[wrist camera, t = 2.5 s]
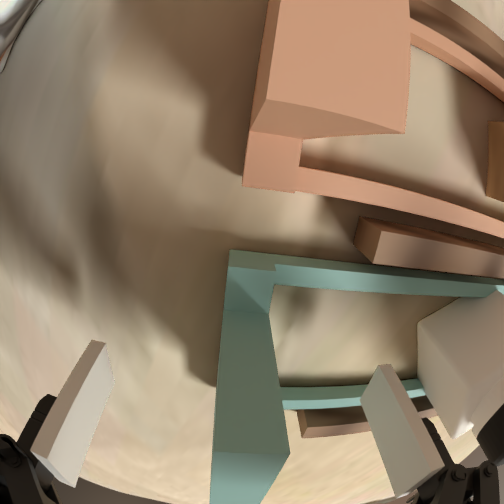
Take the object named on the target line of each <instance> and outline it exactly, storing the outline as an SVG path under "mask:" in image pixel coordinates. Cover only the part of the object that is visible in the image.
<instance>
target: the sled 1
mask: <svg viewBox="0 0 504 504" xmlns="http://www.w3.org/2000/svg"><path fill="white" fill-rule="evenodd" d="M411 44H412V45H414V46H416V47H418V48H420V49H422V50H424V51H426V52H428V53H430V54H432V55H433V56H435V57H437V58H439V59H441V60H442V61H444V62H446V63H448V64H449V65H451V66H453V67H454V68H456V69H458V70H459V71H461V72H462V73H464V74H465V75H467V76H468V77H470V78H471V79H473V80H474V81H476V82H477V83H479V84H480V85H482V86H483V87H484V88H486V89H487V90H488V91H490V92H491V93H492V94H494V95H495V96H496V97H498V98H499V99H500V100H501V101H503V102H504V79H503V78H502V77H501V76H499V75H498V74H497V73H496V72H494V71H493V70H492V69H491V68H489V67H488V66H487V65H486V64H484V63H483V62H482V61H480V60H479V59H478V58H476V57H475V56H473V55H472V54H471V53H469V52H468V51H466V50H465V49H463V48H462V47H460V46H459V45H457V44H456V43H454V42H453V41H451V40H449V39H448V38H446V37H444V36H443V35H441V34H439V33H438V32H436V31H434V30H432V29H431V28H429V27H427V26H425V25H423V24H421V23H419V22H417V21H415V20H413V19H411V18H410V10H409V0H269V1H268V7H267V13H266V19H265V25H264V31H263V38H262V44H261V50H260V57H259V63H258V70H257V76H256V83H255V90H254V96H253V103H252V110H251V117H250V124H249V131H248V139H247V146H246V153H245V161H244V168H243V176H242V186H245V187H253V188H261V189H268V190H276V191H283V192H289V193H295V191H300V192H306V193H312V194H318V195H324V196H330V197H336V198H341V199H347V200H352V201H357V202H362V203H367V204H372V205H377V206H382V207H387V208H391V209H396V210H400V211H405V212H409V213H413V214H417V215H422V216H426V217H430V218H434V219H438V220H442V221H445V222H449V223H453V224H457V225H460V226H464V227H467V228H471V229H474V230H478V231H481V232H485V233H488V234H491V235H494V236H498V237H501V238H504V222H503V221H500V220H498V219H495V218H493V217H490V216H487V215H485V214H482V213H479V212H477V211H474V210H471V209H468V208H465V207H462V206H459V205H456V204H453V203H450V202H447V201H444V200H441V199H437V198H434V197H431V196H427V195H424V194H421V193H417V192H414V191H410V190H406V189H403V188H399V187H395V186H391V185H387V184H383V183H379V182H375V181H371V180H367V179H362V178H358V177H353V176H349V175H344V174H339V173H334V172H329V171H324V170H319V169H313V168H308V167H302V166H299V162H300V155H301V148H302V142H303V139H313V138H323V137H335V136H349V135H368V134H405V126H406V117H407V107H408V95H409V80H410V48H411Z"/></svg>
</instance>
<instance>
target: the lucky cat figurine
mask: <svg viewBox="0 0 504 504" xmlns="http://www.w3.org/2000/svg"><path fill="white" fill-rule="evenodd" d="M41 1H42V0H0V73H1V72H2V70H3V68H4V65H5V63H6V60H7V57H8V55H9V52H10V50H11V47H12V45H13V42H14V41H15V39H16V37H17V35H18V34H19V32H20V30H21V28H22V27H23V25H24V24H25V22H26V20H27V19H28V17H29V16H30V14H31V13H32V11H33V10H34V9H35V8H36V7H37V5H38V4H39V3H40V2H41Z"/></svg>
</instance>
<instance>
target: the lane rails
mask: <svg viewBox="0 0 504 504" xmlns="http://www.w3.org/2000/svg"><path fill="white" fill-rule="evenodd" d="M409 10H410V18H411V19H413V20H415V21H417V22H419V23H421V24H423V25H425V26H427V27H429V28H431V29H432V30H434V31H436V32H438V33H439V34H441V35H443V36H444V37H446V38H448V39H449V40H451V41H453V42H454V43H456V44H457V45H459V46H460V47H462V48H463V49H465V50H466V51H468V52H469V53H471V54H472V55H473V56H475V57H476V58H478V59H479V60H480V61H482V62H483V63H484V64H486V65H487V66H488V67H489V68H491V69H492V70H493V71H494V72H496V73H497V74H498V75H499V76H501V77H502V78H503V79H504V41H503V40H502V39H501V38H500V37H498V36H497V35H496V34H495V33H494V32H493V31H491V30H490V29H489V28H488V27H487V26H485V25H484V24H483V23H482V22H480V21H479V20H478V19H476V18H475V17H474V16H472V15H471V14H470V13H468V12H467V11H465V10H464V9H463V8H461V7H460V6H458V5H457V4H455V3H454V2H452V1H451V0H409ZM353 245H354V246H355V247H356V248H357V249H358V250H359V251H360V252H362V253H363V254H364V255H365V256H366V257H367V258H368V259H369V260H370V261H371V262H372V263H373V264H382V265H390V266H399V267H408V268H417V269H425V270H434V271H443V272H451V273H460V274H468V275H477V276H486V277H494V278H503V279H504V248H501V247H498V246H494V245H490V244H486V243H482V242H478V241H474V240H470V239H466V238H462V237H458V236H454V235H449V234H445V233H441V232H436V231H432V230H427V229H422V228H418V227H413V226H408V225H403V224H398V223H393V222H388V221H383V220H377V219H372V218H367V217H361V216H359V221H358V225H357V230H356V234H355V238H354V242H353ZM410 399H411V401H412V403H413V404H414V406H415V408H416V410H417V412H418V414H419V415H420V417H421V418H425V417H427V418H431V417H435V416H438V414H437V412H436V411H435V409H434V407H433V406H432V404H431V402H430V401H429V399H428V397H427V396H426V395H424V396H419V397H414V398H410ZM297 416H298V421H299V426H300V431H301V436H302V438H315V437H327V436H337V435H346V434H354V433H361V432H367V431H371V428H370V425H369V423H368V420H367V418H366V415H365V413H364V410H363V408H362V405H360V406H350V407H338V408H322V409H298V411H297Z"/></svg>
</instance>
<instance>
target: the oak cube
mask: <svg viewBox="0 0 504 504" xmlns="http://www.w3.org/2000/svg"><path fill="white" fill-rule="evenodd" d="M486 196H488V197H491V198H493V199H496V200H499V201H502V202H504V122H497V121H488V174H487V188H486Z"/></svg>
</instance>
